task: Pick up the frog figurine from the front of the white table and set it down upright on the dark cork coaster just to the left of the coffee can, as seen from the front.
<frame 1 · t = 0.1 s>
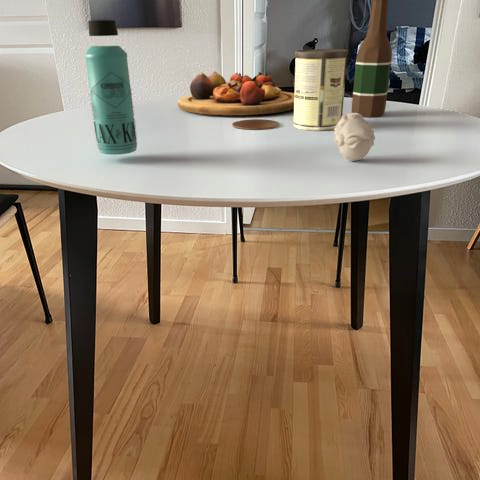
coaster: (255, 125, 107), on the table
beverage bottle: (120, 160, 83), on the table
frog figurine: (351, 161, 80), on the table
beer bottle: (367, 115, 116), on the table
coffee can: (316, 127, 105), on the table
wooden plate: (240, 108, 129), on the table
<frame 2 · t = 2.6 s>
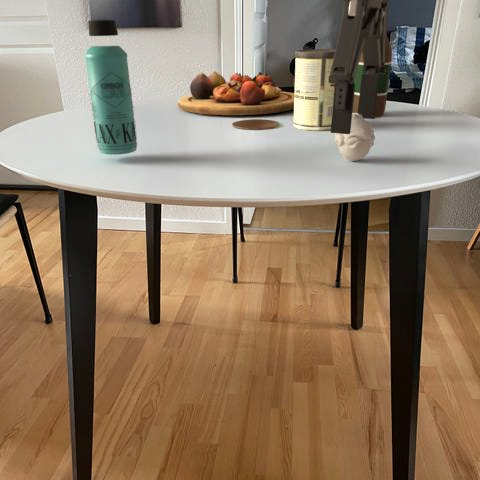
hand: (353, 125, 77), 5 cm above the table, tool pointing down, fingers open, 13 cm apart
nothing on the table moved.
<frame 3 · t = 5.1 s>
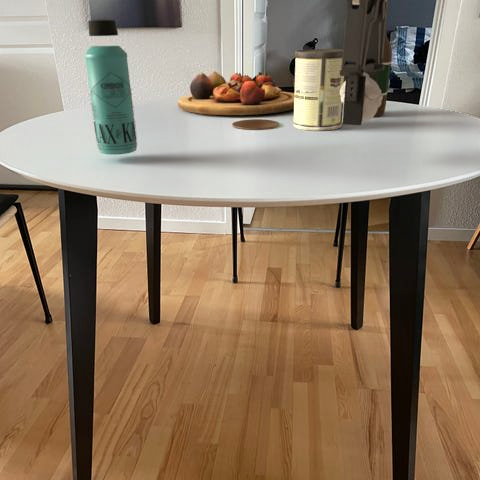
hand: (358, 120, 77), 6 cm above the table, tool pointing down, fingers closed on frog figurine, 6 cm apart
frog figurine: (358, 123, 77), point 6 cm above the table, touching gripper
everything else where it was.
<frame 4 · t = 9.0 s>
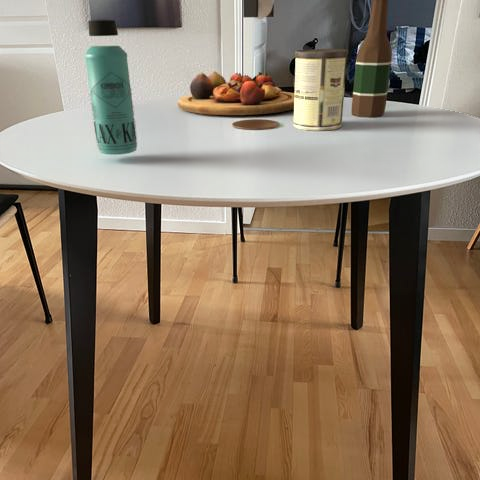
hand: (258, 16, 95), 20 cm above the table, tool pointing down, fingers closed on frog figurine, 6 cm apart
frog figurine: (258, 19, 96), point 19 cm above the table, touching gripper
everything else where it was.
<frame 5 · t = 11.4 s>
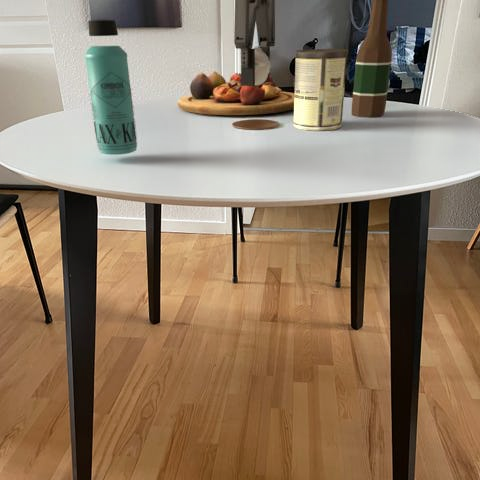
hand: (255, 83, 103), 8 cm above the table, tool pointing down, fingers closed on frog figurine, 6 cm apart
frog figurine: (255, 86, 103), point 8 cm above the table, touching gripper
everything else where it was.
when the fingers open (1 cm above the table, at t = 13.3 s): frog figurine stays where it is, resting on coaster.
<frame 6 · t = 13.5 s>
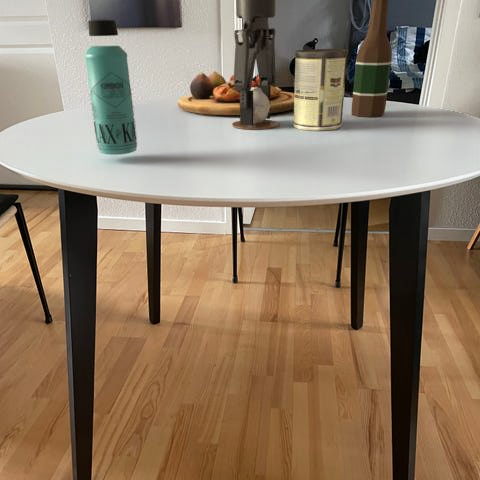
hand: (255, 121, 106), 1 cm above the table, tool pointing down, fingers open, 8 cm apart
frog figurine: (255, 124, 107), resting on coaster
everything else where it was.
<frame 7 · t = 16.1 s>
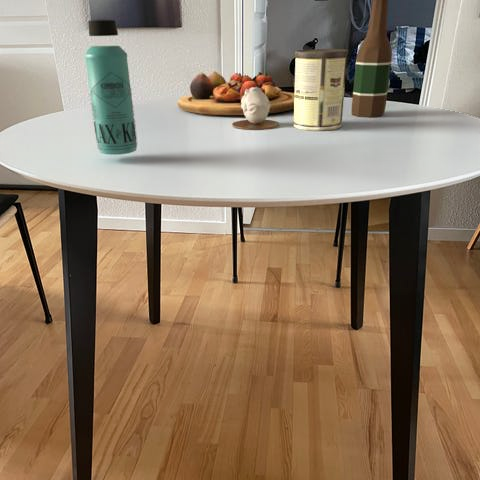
hand: (310, 0, 94), 22 cm above the table, tool pointing down, fingers open, 13 cm apart
nothing on the table moved.
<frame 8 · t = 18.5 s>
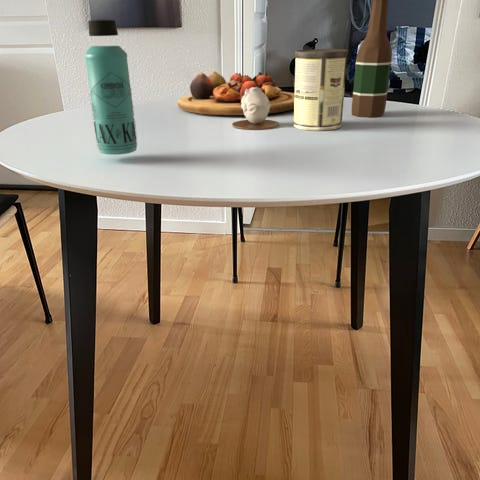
nothing on the table moved.
at the end: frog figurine inside the target area on the table beside the coffee can (0.6 cm from its centre), resting on coaster; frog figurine tilted 0°; the gripper is holding nothing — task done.
